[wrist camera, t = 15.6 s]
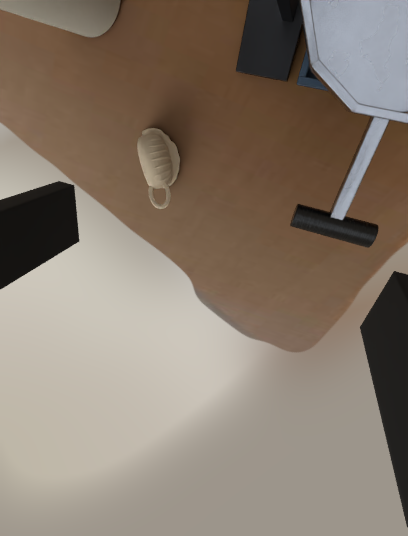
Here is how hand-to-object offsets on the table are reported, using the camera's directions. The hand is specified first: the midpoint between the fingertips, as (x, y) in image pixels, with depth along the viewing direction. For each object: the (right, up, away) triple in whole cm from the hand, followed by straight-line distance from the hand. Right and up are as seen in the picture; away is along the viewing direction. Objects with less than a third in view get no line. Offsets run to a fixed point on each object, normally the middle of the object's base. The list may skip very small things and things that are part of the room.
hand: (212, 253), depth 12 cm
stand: (+6, +23, +14) cm, 27 cm away
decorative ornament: (-5, +12, +24) cm, 27 cm away
